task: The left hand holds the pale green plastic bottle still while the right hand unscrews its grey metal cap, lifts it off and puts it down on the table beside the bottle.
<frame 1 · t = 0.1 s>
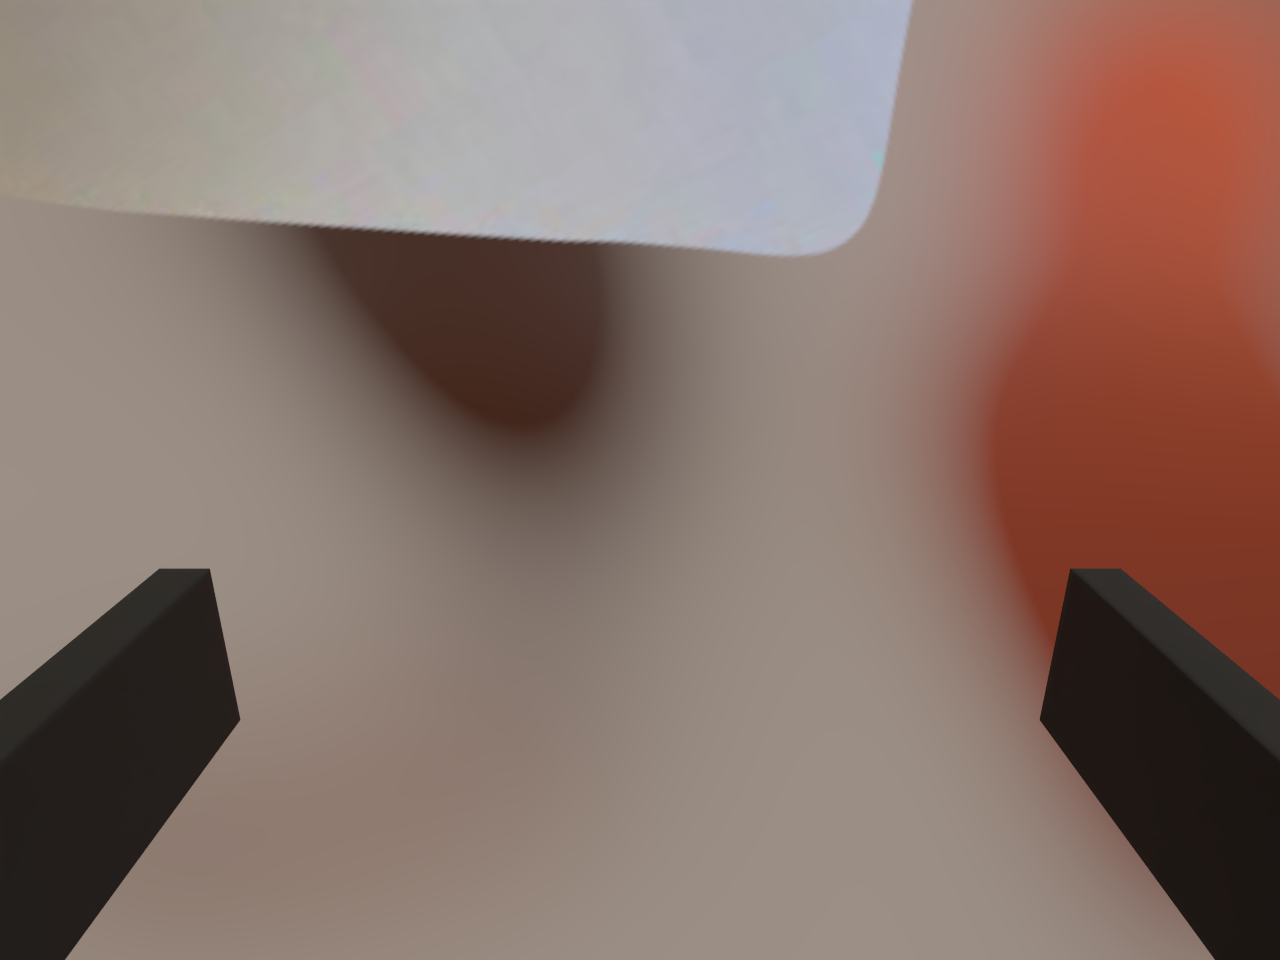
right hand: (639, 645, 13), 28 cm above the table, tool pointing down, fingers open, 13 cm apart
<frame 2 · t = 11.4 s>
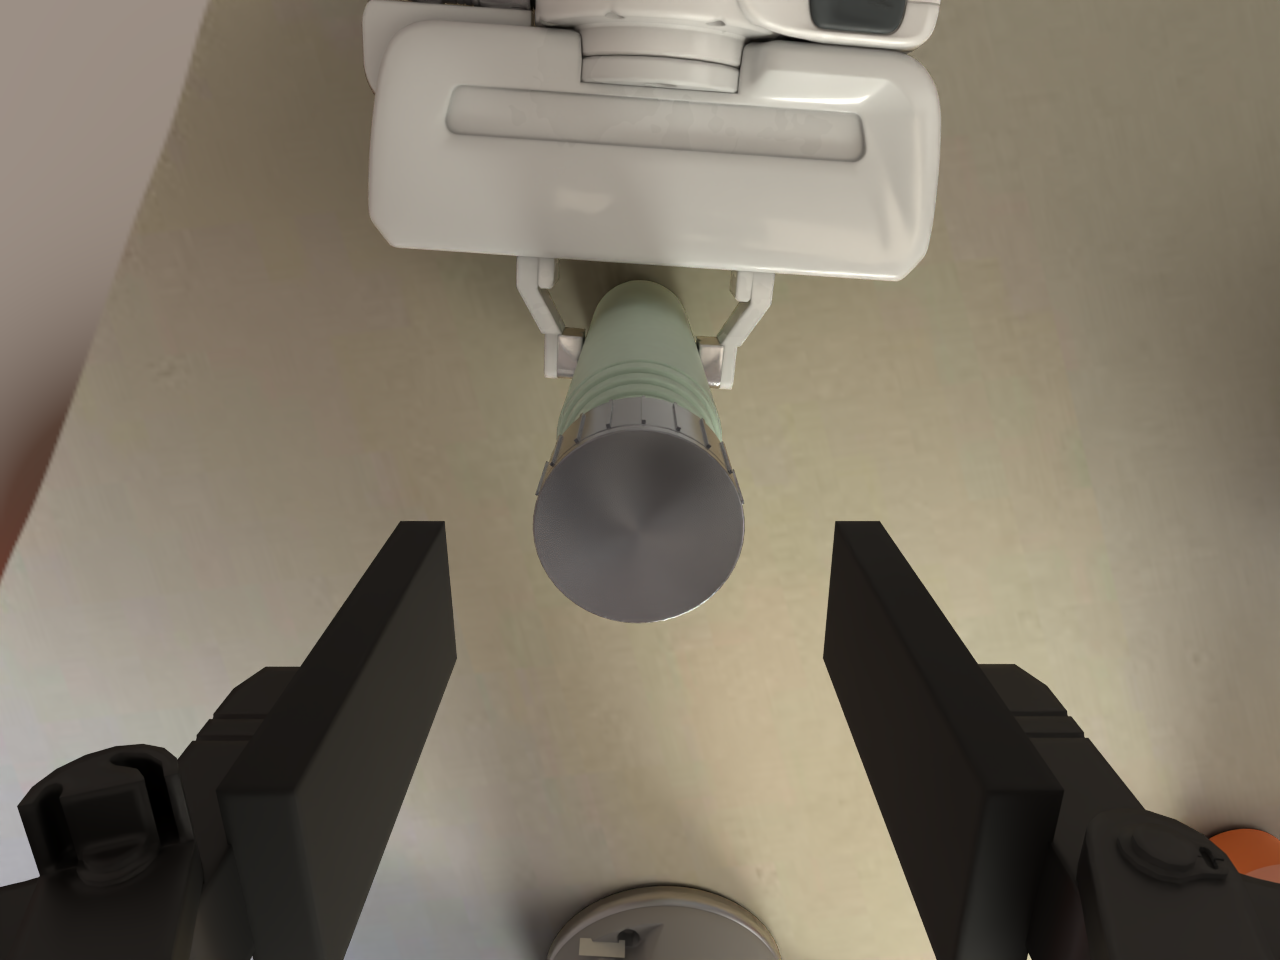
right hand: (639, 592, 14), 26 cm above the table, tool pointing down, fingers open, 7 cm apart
left hand: (639, 380, 33), fingers closed on bottle, 4 cm apart
bottle: (639, 329, 39), on the table, touching left hand
cup with straw: (1229, 864, 50), on the table
cap: (638, 525, 17), point 23 cm above the table, screwed on, not yet turned
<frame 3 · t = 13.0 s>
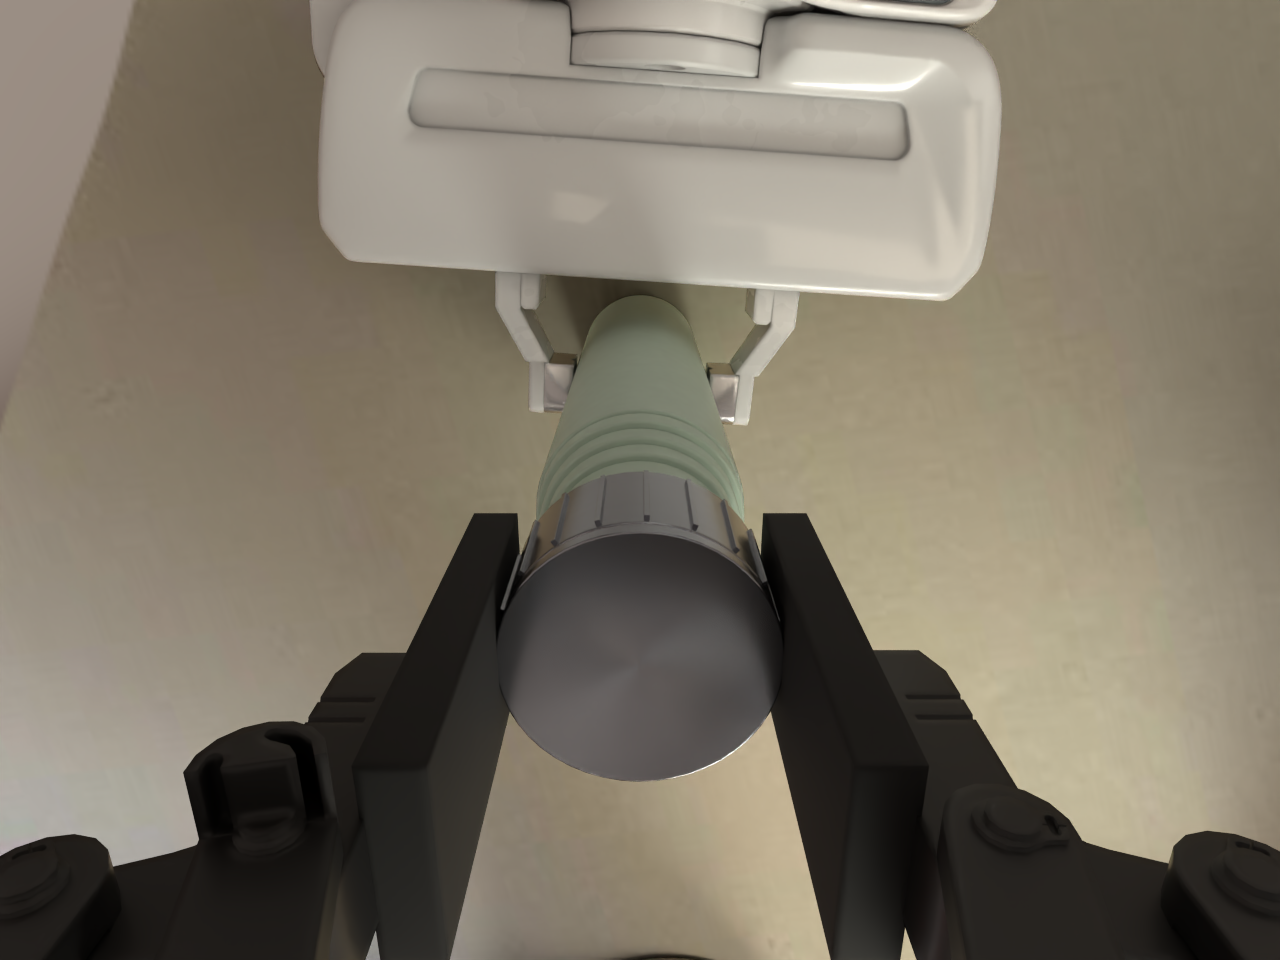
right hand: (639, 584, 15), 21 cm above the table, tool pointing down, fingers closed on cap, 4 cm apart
left hand: (639, 414, 28), fingers closed on bottle, 4 cm apart
bottle: (640, 350, 34), on the table, touching left hand
cap: (640, 653, 13), point 23 cm above the table, screwed on, not yet turned, touching right hand
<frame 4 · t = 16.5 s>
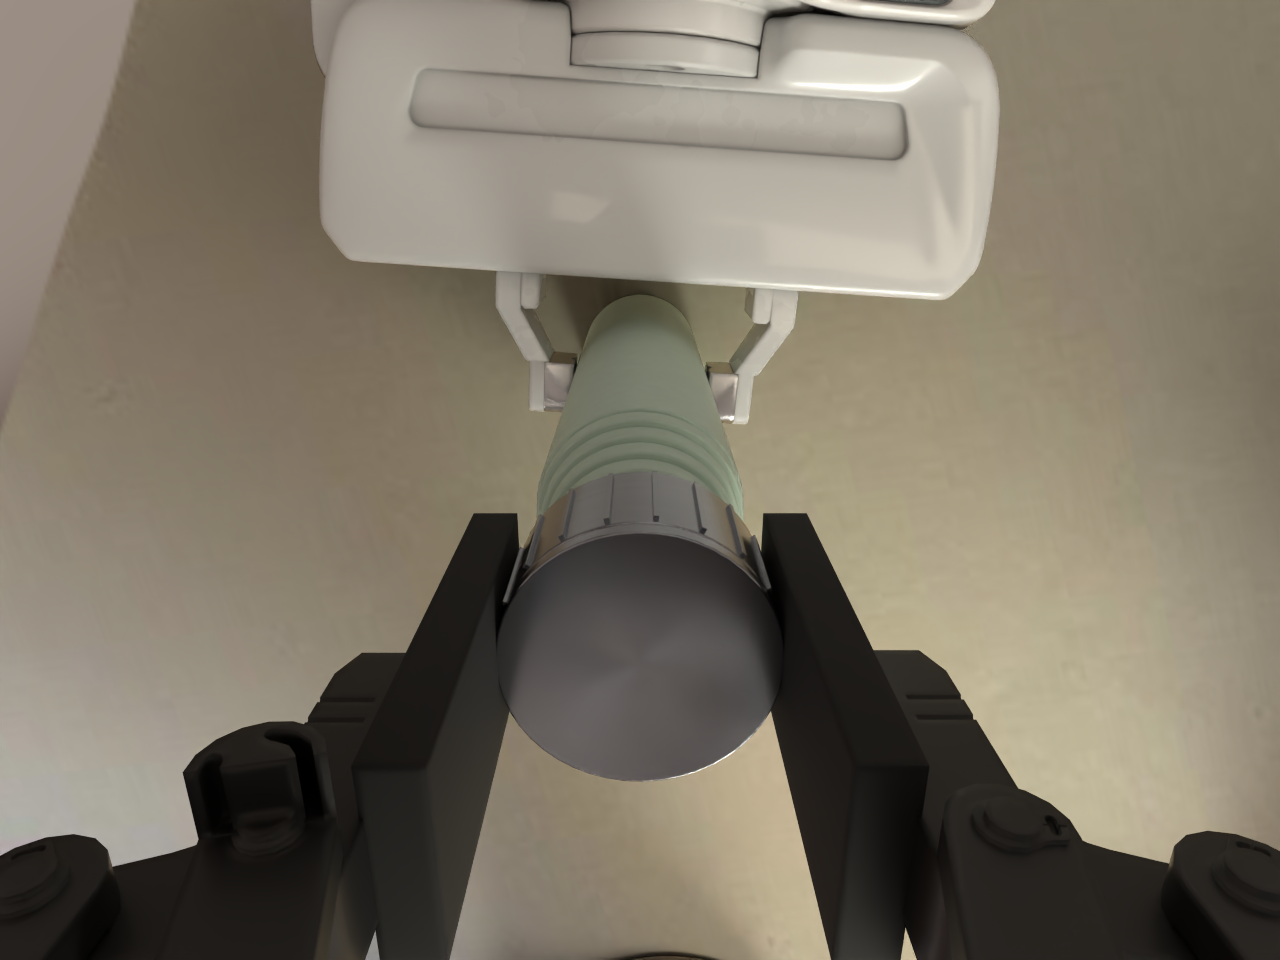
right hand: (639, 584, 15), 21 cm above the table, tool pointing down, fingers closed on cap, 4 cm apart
left hand: (639, 413, 28), fingers closed on bottle, 4 cm apart
bottle: (640, 350, 34), on the table, touching left hand
cap: (640, 653, 13), point 23 cm above the table, turned 129° so far, risen 0.1 cm, still on its thread, touching right hand
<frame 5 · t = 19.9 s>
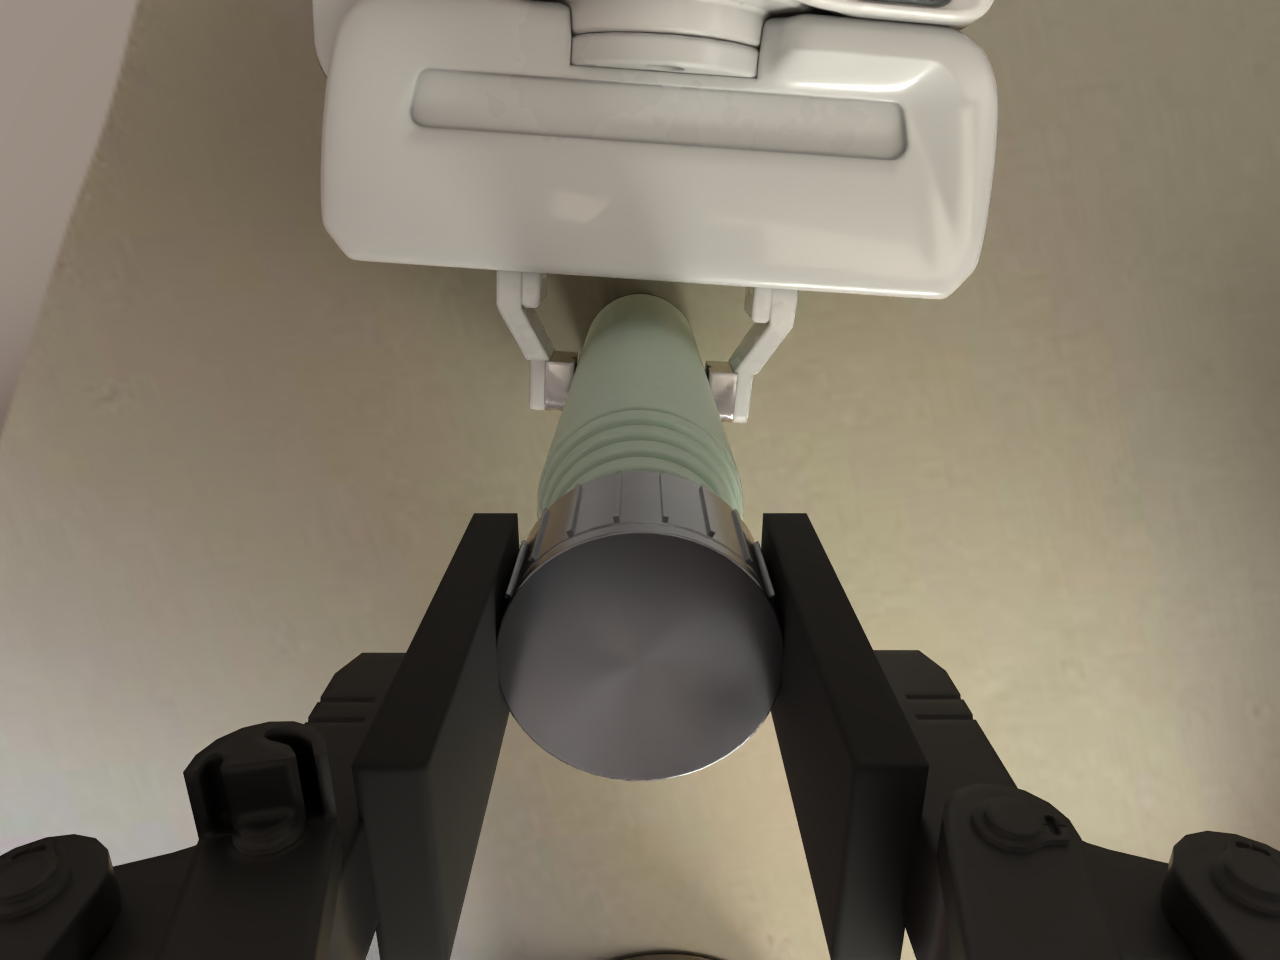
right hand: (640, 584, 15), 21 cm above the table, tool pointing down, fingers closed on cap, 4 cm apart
left hand: (639, 412, 29), fingers closed on bottle, 4 cm apart
bottle: (640, 349, 34), on the table, touching left hand
cap: (640, 653, 13), point 23 cm above the table, turned 258° so far, risen 0.2 cm, still on its thread, touching right hand
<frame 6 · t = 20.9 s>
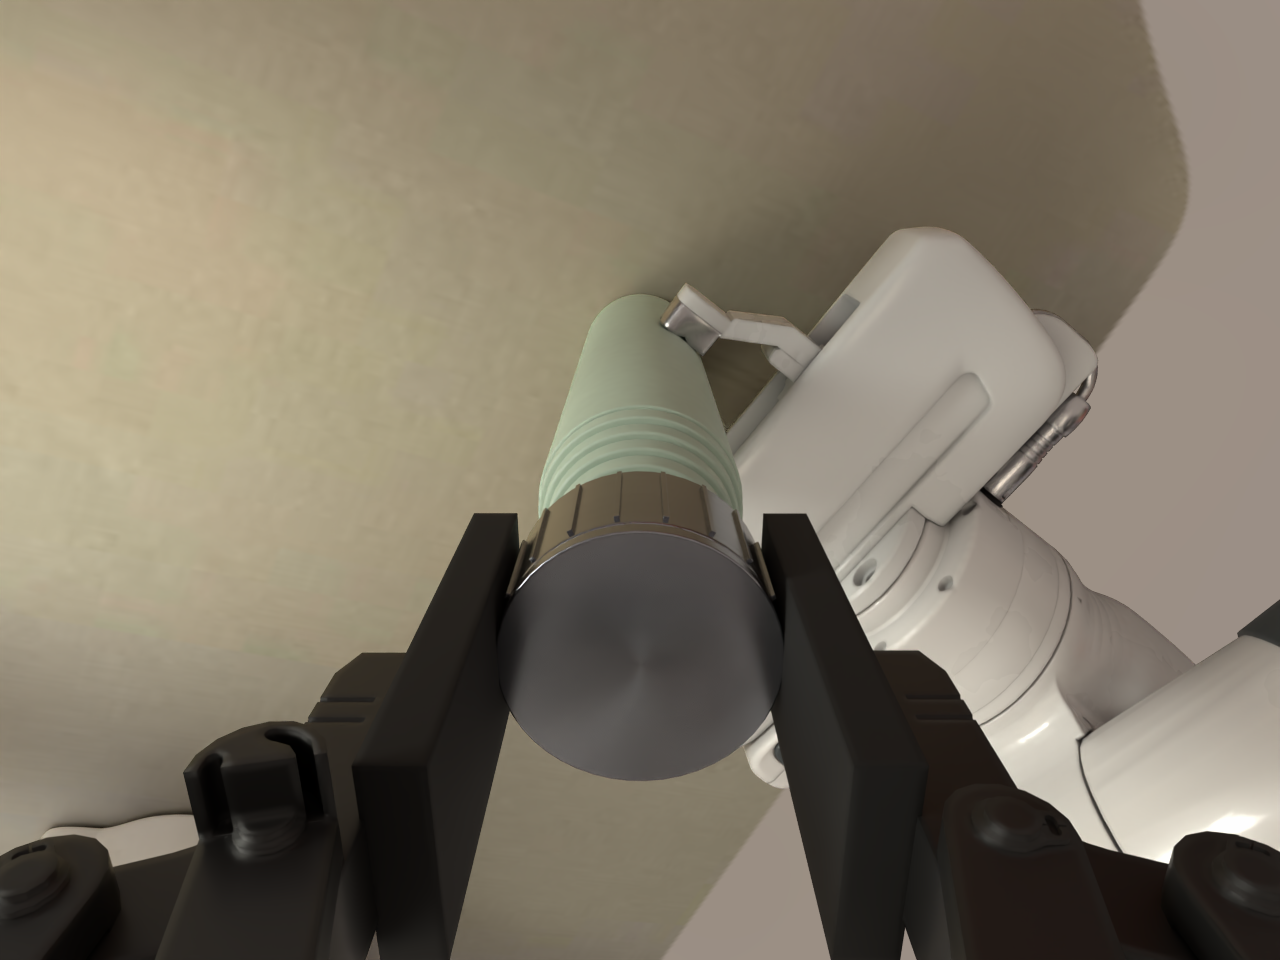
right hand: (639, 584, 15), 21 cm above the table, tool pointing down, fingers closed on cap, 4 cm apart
left hand: (618, 372, 28), fingers closed on bottle, 4 cm apart
bottle: (640, 349, 34), on the table, touching left hand
cap: (640, 653, 13), point 23 cm above the table, off its thread, touching right hand
when the right hand's fingers open (1 cm above the table, at t = 28.2 s): cap drops 1 cm, point 2 cm above the table.
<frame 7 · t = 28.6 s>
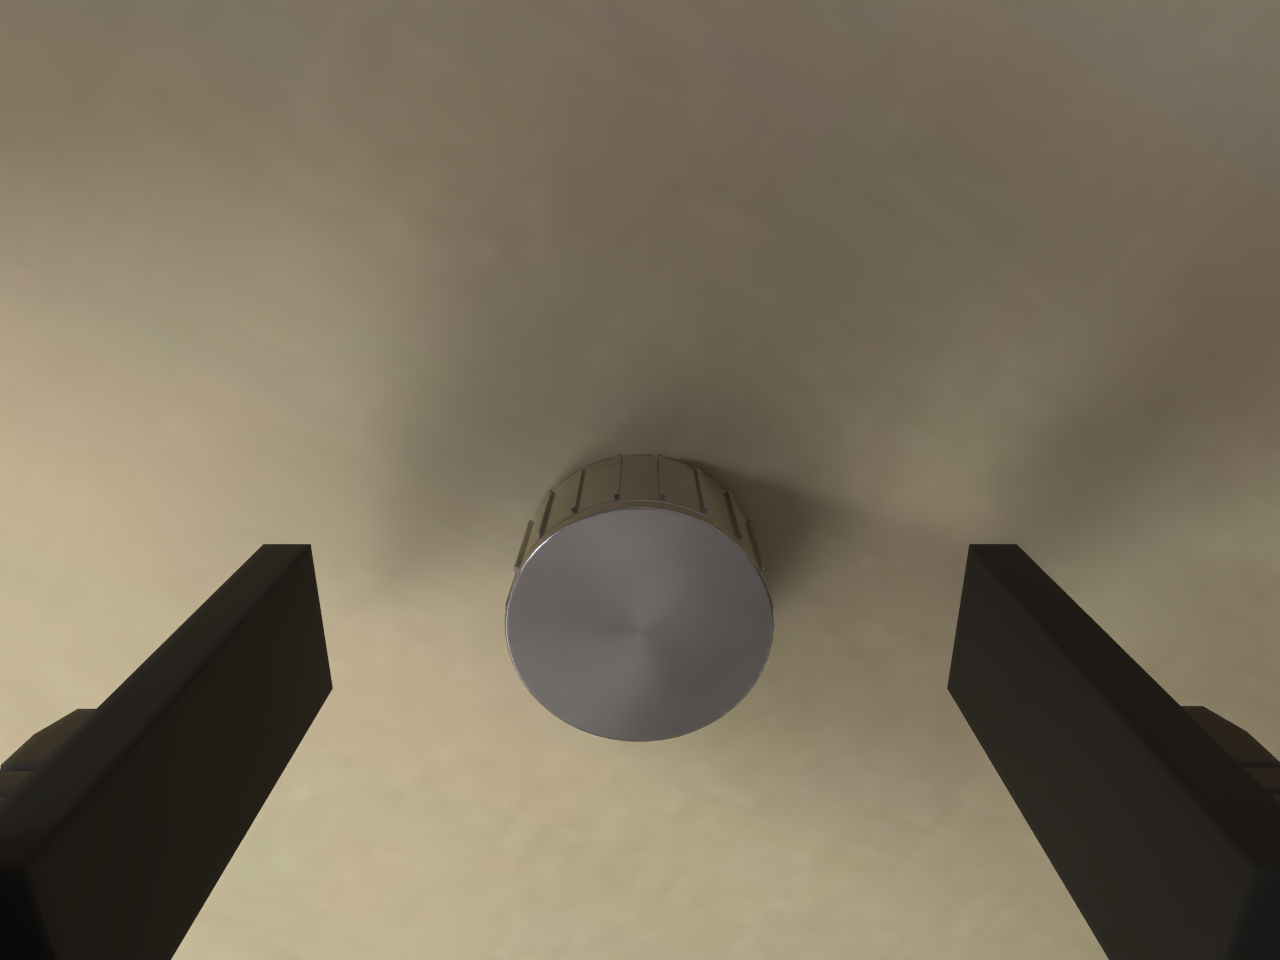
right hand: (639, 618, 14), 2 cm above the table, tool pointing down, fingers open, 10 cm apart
cap: (639, 622, 14), point 2 cm above the table, off its thread
when the left hand's fingers open (7 cm above the table, at t = 29.4 s): bottle stays where it is, on the table.
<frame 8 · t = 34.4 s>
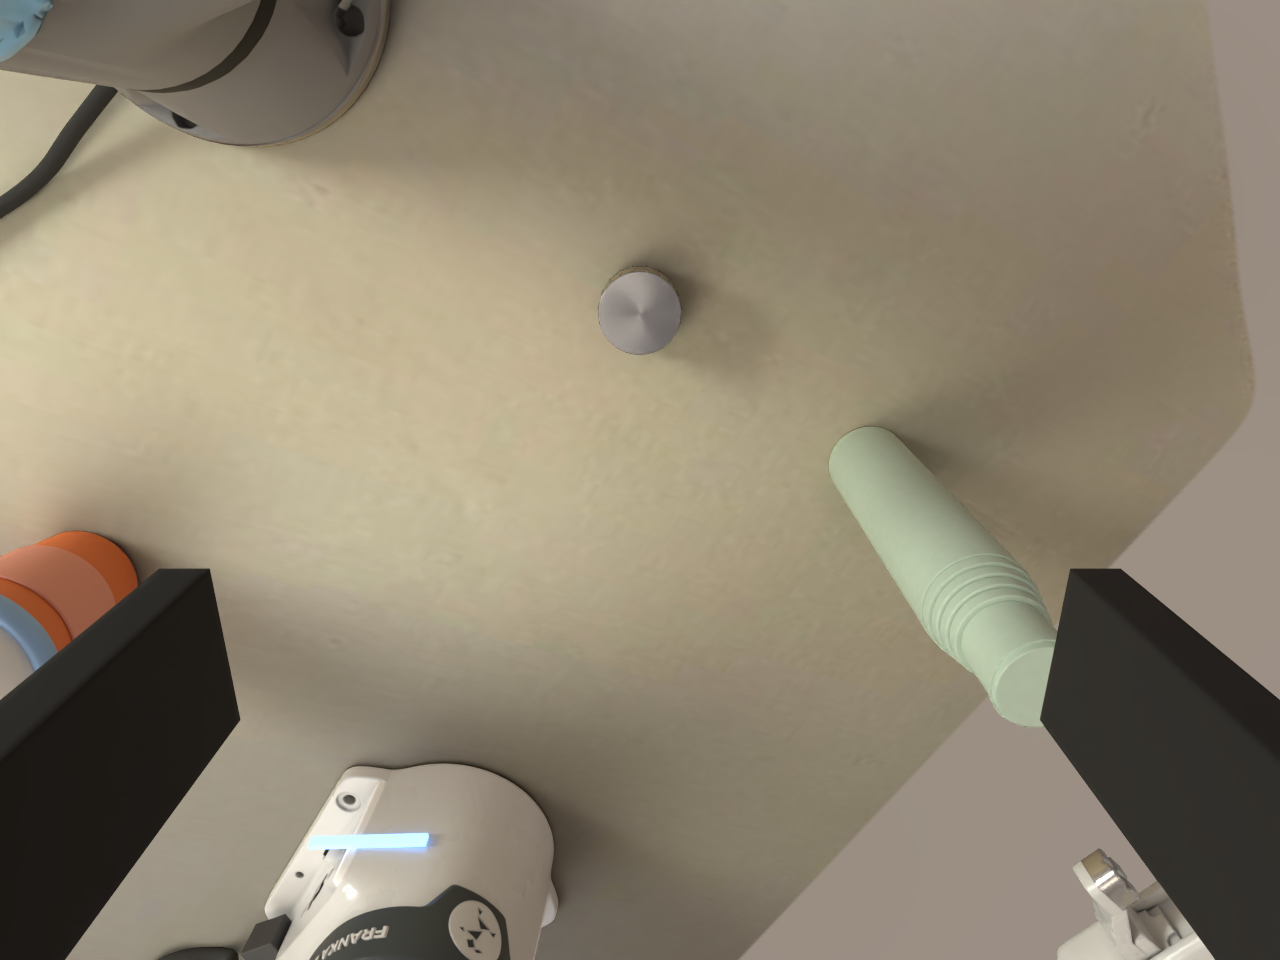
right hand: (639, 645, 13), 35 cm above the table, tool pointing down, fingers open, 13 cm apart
bottle: (866, 462, 49), on the table
cup with straw: (91, 573, 52), on the table
cap: (639, 312, 44), point 2 cm above the table, off its thread
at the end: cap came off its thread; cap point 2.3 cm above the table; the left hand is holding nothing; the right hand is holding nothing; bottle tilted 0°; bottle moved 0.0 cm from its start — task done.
